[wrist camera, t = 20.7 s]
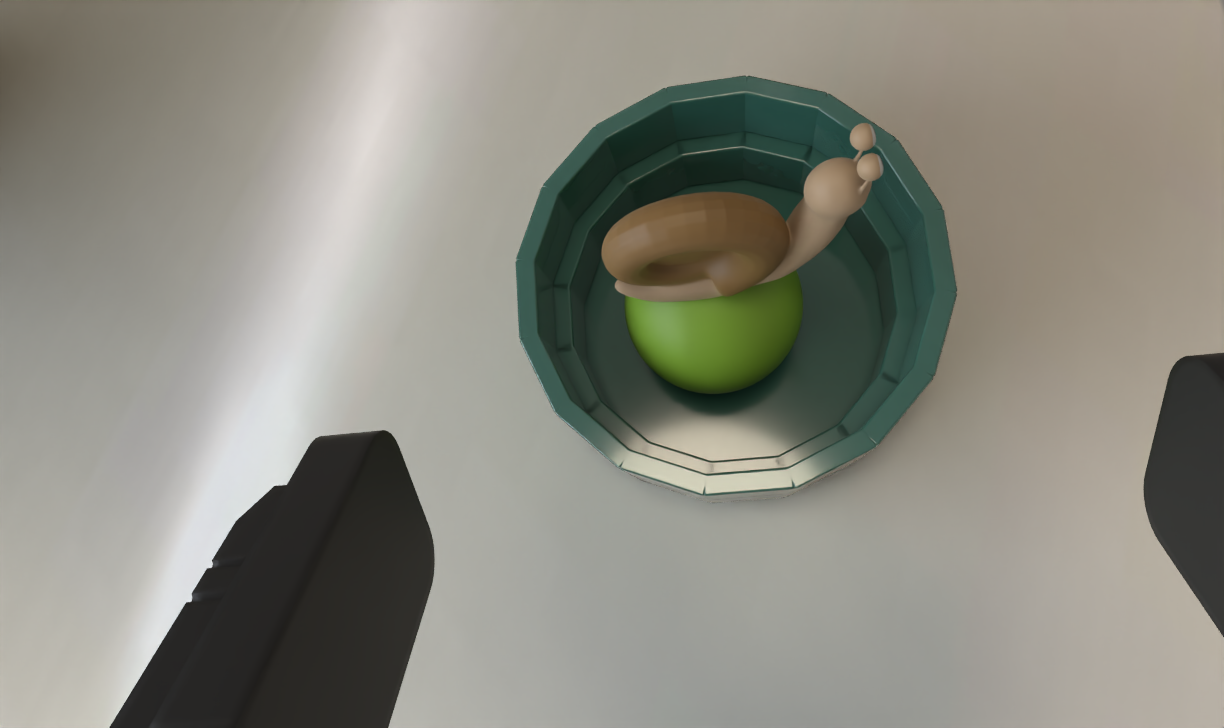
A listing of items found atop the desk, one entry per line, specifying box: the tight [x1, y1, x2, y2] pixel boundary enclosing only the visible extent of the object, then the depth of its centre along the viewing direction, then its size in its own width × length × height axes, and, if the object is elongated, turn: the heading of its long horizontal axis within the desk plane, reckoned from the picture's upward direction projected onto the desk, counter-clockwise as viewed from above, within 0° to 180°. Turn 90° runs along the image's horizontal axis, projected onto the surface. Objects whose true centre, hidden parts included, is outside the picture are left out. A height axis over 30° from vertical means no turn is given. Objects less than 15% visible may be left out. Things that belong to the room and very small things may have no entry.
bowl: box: [516, 76, 957, 503], centre depth 26 cm, size 12×12×6 cm
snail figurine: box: [602, 123, 883, 394], centre depth 22 cm, size 5×6×12 cm
